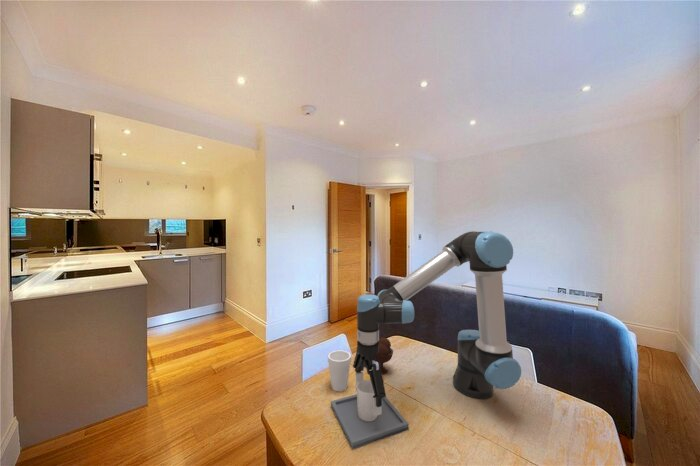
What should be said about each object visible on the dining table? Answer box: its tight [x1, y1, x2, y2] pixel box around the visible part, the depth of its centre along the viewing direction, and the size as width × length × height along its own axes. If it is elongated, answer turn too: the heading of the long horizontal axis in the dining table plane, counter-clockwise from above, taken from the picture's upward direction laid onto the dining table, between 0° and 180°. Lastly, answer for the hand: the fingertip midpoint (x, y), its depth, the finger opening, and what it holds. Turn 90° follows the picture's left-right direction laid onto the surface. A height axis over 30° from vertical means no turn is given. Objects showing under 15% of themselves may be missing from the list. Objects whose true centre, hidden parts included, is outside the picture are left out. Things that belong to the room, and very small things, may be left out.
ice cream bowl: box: [375, 337, 394, 375], centre depth 119 cm, size 11×11×15 cm
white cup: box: [356, 379, 377, 421], centre depth 90 cm, size 8×8×10 cm
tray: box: [330, 393, 410, 450], centre depth 90 cm, size 20×20×2 cm
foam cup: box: [327, 349, 352, 392], centre depth 107 cm, size 10×9×13 cm
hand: (367, 401), depth 90 cm, fingers open, 13 cm apart
